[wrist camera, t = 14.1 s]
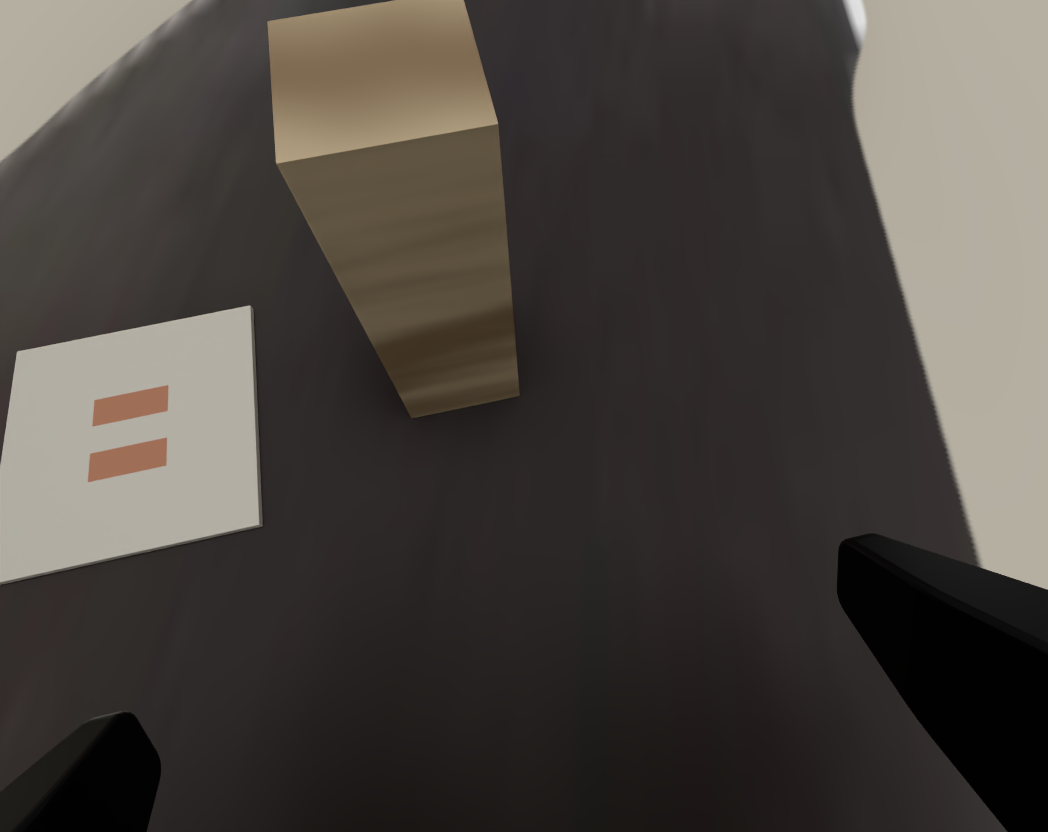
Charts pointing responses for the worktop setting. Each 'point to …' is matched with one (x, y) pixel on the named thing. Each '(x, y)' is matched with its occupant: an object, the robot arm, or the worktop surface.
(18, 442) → the card
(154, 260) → the worktop surface
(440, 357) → the oak block
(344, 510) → the worktop surface
